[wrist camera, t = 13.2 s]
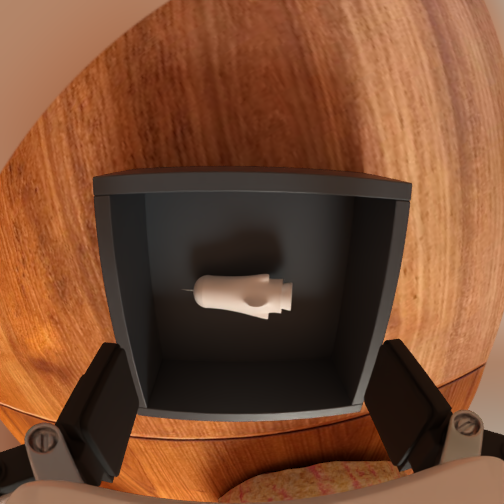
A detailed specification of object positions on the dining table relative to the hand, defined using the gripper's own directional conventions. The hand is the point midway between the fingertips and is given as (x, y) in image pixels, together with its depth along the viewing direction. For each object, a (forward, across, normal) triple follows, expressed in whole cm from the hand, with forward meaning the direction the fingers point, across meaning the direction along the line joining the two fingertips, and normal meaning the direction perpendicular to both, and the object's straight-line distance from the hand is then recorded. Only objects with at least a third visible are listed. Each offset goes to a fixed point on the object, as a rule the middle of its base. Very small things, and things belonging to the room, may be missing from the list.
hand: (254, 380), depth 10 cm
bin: (+9, 0, 0) cm, 9 cm away
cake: (+9, -9, +32) cm, 35 cm away
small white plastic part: (+9, 0, 0) cm, 9 cm away
